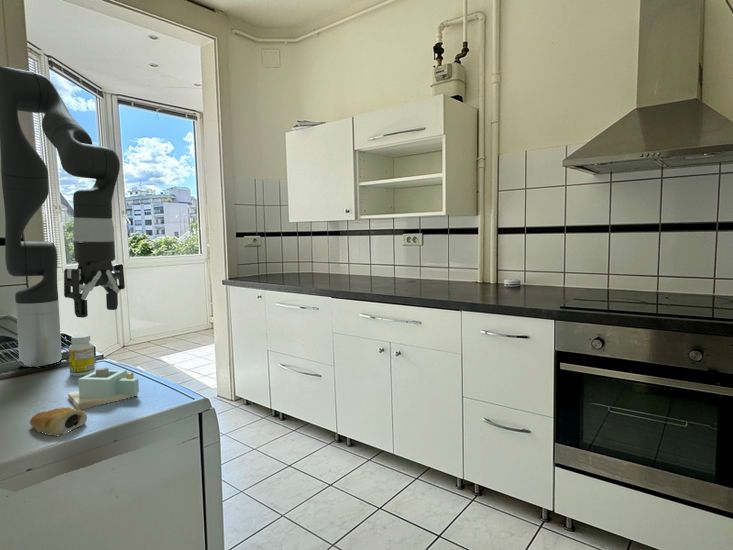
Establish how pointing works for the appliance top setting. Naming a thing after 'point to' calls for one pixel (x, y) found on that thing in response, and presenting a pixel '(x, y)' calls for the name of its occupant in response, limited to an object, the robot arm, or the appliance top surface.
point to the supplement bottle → (81, 355)
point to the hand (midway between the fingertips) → (97, 313)
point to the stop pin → (130, 375)
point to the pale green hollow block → (107, 385)
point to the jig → (92, 402)
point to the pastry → (58, 420)
